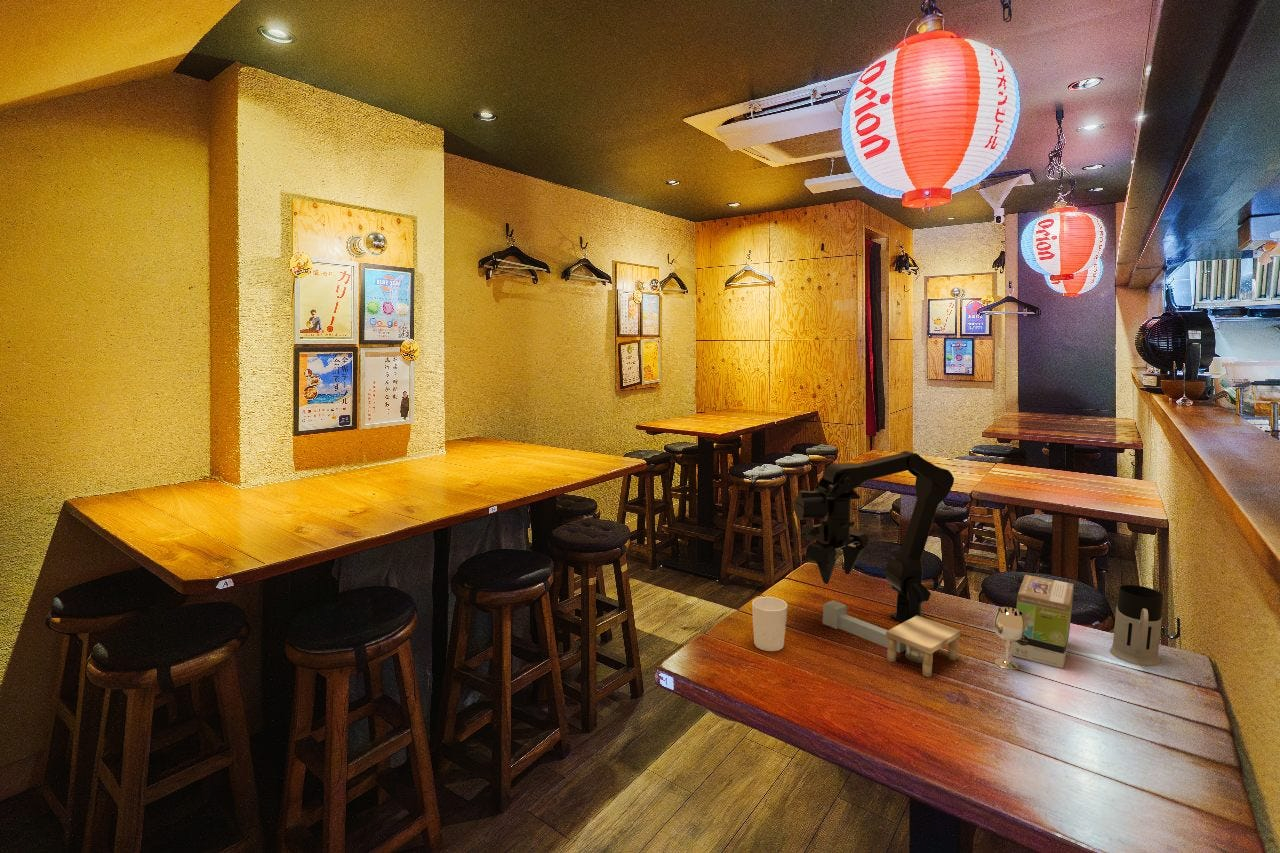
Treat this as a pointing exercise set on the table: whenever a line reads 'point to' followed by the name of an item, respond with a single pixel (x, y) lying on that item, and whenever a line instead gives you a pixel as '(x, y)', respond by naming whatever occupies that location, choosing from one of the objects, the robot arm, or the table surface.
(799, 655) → the table surface
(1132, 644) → the glass holder
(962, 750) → the table surface
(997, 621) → the wineglass
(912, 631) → the hinoki shelf
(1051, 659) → the tea box
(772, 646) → the white cup
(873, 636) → the gray hammer
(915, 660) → the steel puck
